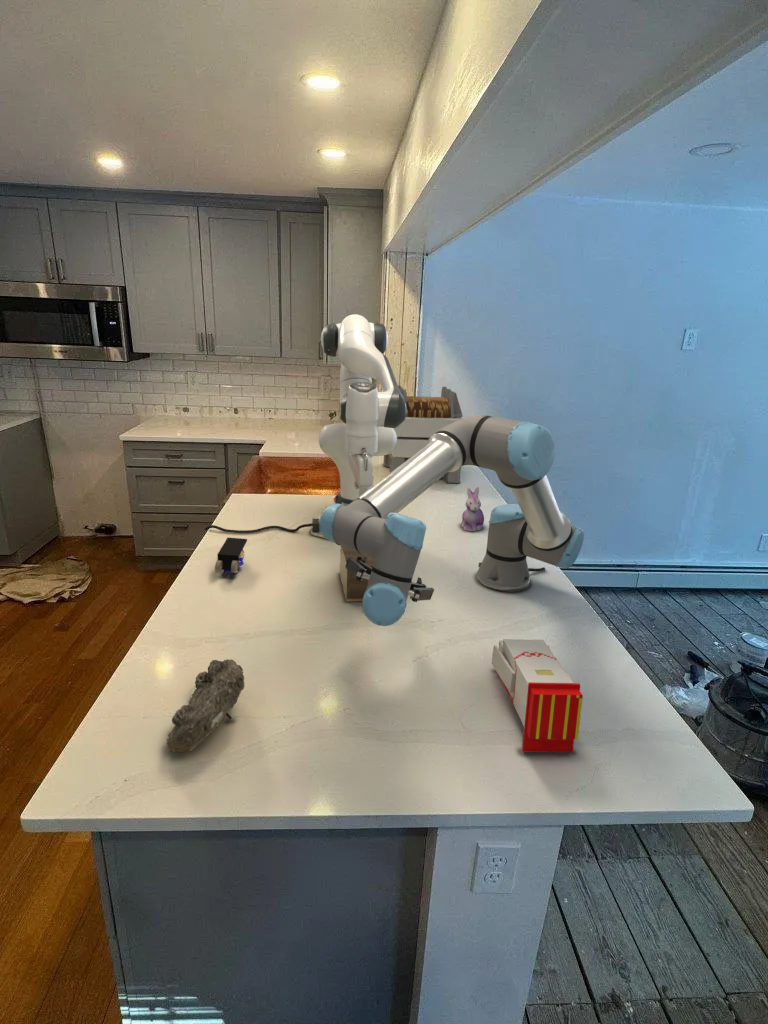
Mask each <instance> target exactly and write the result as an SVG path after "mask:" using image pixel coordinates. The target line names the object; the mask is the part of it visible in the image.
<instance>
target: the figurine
mask: <svg viewBox="0 0 768 1024" xmlns="http://www.w3.org/2000/svg"><path fill="white" fill-rule="evenodd" d="M466 491H467V493H466V494H467V499H466V501H465V507H466V509H465V510H464V511H463V513H462V516H461V517H462V518H461V519H462V520H461V527H462V528H463V530H464V531H469V532H475V531H480V530H481V529H482V528H484V523H485V515H484V512H483V510H482V509H481V507H482V502H481V499H480V497H479V494H480V488H479V487H478V486H477V487H476V488H475V489H474V490H473V491H472V490H471V488H469V487H468V488H467V489H466Z"/></svg>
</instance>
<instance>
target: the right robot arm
mask: <svg viewBox="0 0 768 1024" xmlns="http://www.w3.org/2000/svg"><path fill="white" fill-rule="evenodd" d="M554 441H555V440H554V437H553V436H552V433H551V432H550V431H549V429H548V428H547V427H545V426H543V425H540V424H535V423H534V422H531V421H522V420H515V419H509V418H504V417H503V418H502V417H496V416H491V415H487V414H475V415H470V416H466V417H462V419H460V420H458V421H455V422H453V423H451V424H449V425H447V426H445V427H444V428H442V429H441V430H439V431H438V432H436V433H435V434H433V435H432V436H431V437H430V438H429V440H428V442H427V445H426V446H425V447H424V448H422V449H421V450H420V451H419V452H417V453H416V454H415V455H413V456H412V457H411V458H409V459H408V460H407V461H405V462H404V463H403V464H401V465H400V466H399V467H398V468H396V469H395V470H394V471H392V472H391V473H390V472H389V473H388V474H387V475H386V476H384V477H383V478H381V479H380V480H379V481H378V482H377V483H375V484H373V487H371V488H370V489H369V490H367V491H366V492H365V493H363V494H362V495H361V496H360V497H358V498H357V499H356V500H354V501H353V502H352V503H350V504H349V505H348V506H346V505H344V504H335V503H333V504H329V505H328V506H327V507H326V508H325V509H324V510H323V512H321V514H322V515H321V514H320V515H321V518H320V530H321V533H322V535H323V536H324V537H325V538H324V539H326V540H328V541H329V542H332V543H334V544H335V545H337V546H340V547H341V546H344V547H346V548H349V549H351V550H354V551H356V552H359V553H361V554H363V555H365V556H368V557H370V558H373V559H374V564H373V567H370V566H369V565H367V564H365V562H366V560H367V557H365V556H364V558H363V559H362V557H359V556H358V557H357V560H355V559H353V558H352V557H349V558H348V560H347V563H346V566H345V568H346V569H347V570H349V571H350V572H351V573H352V574H353V575H354V576H355V579H357V580H358V581H361V580H363V579H364V578H365V579H367V580H368V585H367V589H366V591H365V593H364V596H363V600H362V601H361V604H362V610H363V611H362V612H363V613H364V615H365V617H366V618H367V620H368V621H370V622H371V623H372V624H374V625H377V626H380V627H388V626H392V625H394V624H396V623H398V622H399V621H400V620H401V618H402V617H403V616H404V614H405V611H406V608H407V604H408V603H407V600H408V597H409V599H410V600H411V601H412V602H413V603H418V602H419V601H431V599H432V597H433V594H434V592H435V588H433V587H428V586H427V585H426V584H425V583H423V579H422V577H420V576H418V577H417V579H416V582H412V581H413V578H414V574H415V571H416V568H417V565H418V561H419V558H420V555H421V551H422V549H423V548H424V547H423V546H424V540H425V535H426V531H427V525H426V523H425V522H424V521H423V520H420V519H418V518H415V517H412V516H408V515H405V514H402V513H400V512H401V511H403V509H405V508H406V507H408V506H409V505H410V504H411V503H413V501H415V500H416V499H418V497H420V496H421V495H422V494H423V493H424V492H425V491H427V490H428V489H429V488H431V486H433V485H434V484H435V483H437V482H438V481H439V480H440V479H441V478H443V477H444V475H445V474H446V473H447V472H453V471H456V470H458V469H459V468H460V467H461V468H462V467H464V466H474V467H477V468H482V469H486V470H490V471H493V472H495V474H496V475H497V478H498V479H499V481H500V483H501V484H502V485H503V486H505V487H506V488H509V489H511V493H512V494H513V496H514V498H515V500H516V502H517V503H506V504H501V505H497V506H495V507H493V508H492V510H491V512H490V517H489V521H488V531H487V542H486V551H485V555H484V557H483V559H482V561H481V562H478V570H477V581H478V582H479V583H480V584H482V585H483V586H484V587H487V588H489V589H491V590H495V591H498V592H499V591H500V592H505V593H506V592H507V593H508V592H510V593H512V592H513V593H515V592H521V591H523V590H526V589H527V588H528V587H529V586H530V582H531V575H530V572H532V573H533V572H535V573H536V572H537V573H538V572H544V571H546V567H540V568H535V567H533V568H531V567H530V568H529V565H528V562H527V561H528V560H527V557H528V558H531V559H534V560H536V561H540V562H543V563H546V564H548V565H552V566H555V567H556V568H561V569H570V568H571V567H572V566H573V564H575V562H576V560H577V559H578V557H579V555H580V553H581V549H582V547H583V543H584V541H585V540H584V538H585V531H584V530H583V529H582V528H580V527H579V526H574V525H572V523H571V521H570V519H569V518H568V517H567V515H565V513H563V512H561V511H560V509H559V505H558V503H557V501H556V498H555V495H554V492H553V489H552V487H551V484H550V481H549V478H548V477H547V475H548V473H549V472H550V470H551V468H552V466H553V463H554V459H555V452H554V451H555V447H556V446H555V442H554ZM361 560H362V561H361Z"/></svg>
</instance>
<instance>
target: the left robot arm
mask: <svg viewBox="0 0 768 1024" xmlns="http://www.w3.org/2000/svg"><path fill="white" fill-rule="evenodd" d="M386 328H387V327H386V326H385V325H384V323H380V322H376V321H374V322H369V321H368V319H367V318H366V317H364V315H361V314H356V313H354V314H350V315H349V314H348V315H347V316H345V318H343V319H342V321H341V322H340V323H335V322H333V323H329V324H325V326H324V327H323V329H322V331H321V333H320V345H321V348H322V350H323V353H324V354H325V355H326V356H328V357H332V358H336V357H338V358H339V361H340V364H341V365H340V369H339V379H338V380H339V383H338V384H339V406H340V407H339V408H340V413H339V420H341V422H335V423H330V424H329V423H328V424H325V425H323V427H322V428H321V429H320V432H319V435H318V445H319V447H320V449H321V451H322V452H323V453H324V454H325V455H326V456H328V457H329V458H330V459H331V460H332V462H334V464H335V466H336V467H337V470H338V474H339V483H340V484H339V485H340V488H339V489H340V490H339V491H338V492H337V494H336V495H335V496H334V497H333V502H334V504H344V505H346V506H348V505H349V504H350V503H352V502H353V501H354V500H356V499H357V498H358V497H360V496H361V495H362V494H363V493H365V492H366V491H367V490H369V489H370V488H371V487H373V486H374V473H373V471H374V470H373V467H374V466H373V459H372V458H373V457H382V456H384V455H387V454H391V453H392V452H393V450H394V449H395V447H396V444H397V436H396V432H395V430H394V429H393V428H396V427H398V426H399V425H400V424H401V423H402V422H403V421H404V420H405V417H406V403H405V400H404V397H403V396H402V394H401V392H400V390H399V388H398V385H399V384H398V383H397V379H396V377H395V374H394V371H393V367H392V366H391V363H390V361H389V358H388V357H387V355H386V354H385V352H386V351H387V348H388V345H389V333H388V331H387V329H386ZM372 379H374V380H376V381H377V382H378V383H379V385H380V388H381V391H378V387H377V385H375V384H374V383H373V380H372ZM321 515H322V513H321V514H320V515H319V517H318V518H312V522H311V523H303V524H301V525H299V526H297V527H295V528H293V529H292V528H287V527H284V526H281V525H268V526H263V527H260V528H255V529H248V530H247V529H245V530H239V529H237V530H236V529H228V528H223V527H221V526H218V525H214V524H211V525H208V526H206V527H205V528H204V531H209V529H215V530H218V531H221V532H225V533H235V534H251V533H252V534H253V533H258V532H262V531H265V530H271V529H277V530H278V529H279V530H282V531H285V532H289V533H296V532H298V531H300V530H301V529H302V528H308V527H311V530H310V533H311V536H315V537H319V538H323V539H326V538H325V537H324V536H323V535H322V533H321V530H320V518H321Z"/></svg>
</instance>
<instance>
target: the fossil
mask: <svg viewBox="0 0 768 1024" xmlns="http://www.w3.org/2000/svg"><path fill="white" fill-rule="evenodd" d="M243 670H244V669H243V667H242V665H240V664H237V662H236V661H235V660H234V659H232V658H231V659H227V658H226V659H224V660H223V661H222V660H217V659H212V660H211V661H210V663H209V665H208V666H207V671H201V672H199V673H198V674H197V675H196V676H195V680H194V684H195V685H194V687H195V689H194V690H193V693H192V694H191V697H190V698H189V700H188V704H184V705H182V706H181V707H180V709H177V710H176V711H175V713H174V715H173V716H172V718H171V723H172V724H173V727H172V730H171V731H170V732H168V734H167V738H166V741H167V742H166V745H167V749H168V750H169V751H173V752H174V753H176V754H178V753H182V752H188V751H189V752H192V751H193V750H195V748H196V747H197V746H199V744H200V743H201V742H203V741H204V740H205V739H206V738H207V737H208V736H209V735H210V734H211V733H212V732H214V730H215V729H217V727H218V726H219V724H220V722H221V721H222V720H223V719H224V718H225V716H226V717H227V719H229V720H233V717H232V715H230V714H229V710H230V709H231V708H234V706H235V704H236V703H237V702H238V699H239V697H240V695H241V693H242V691H243V690H245V689H244V688H245V675H244V671H243Z"/></svg>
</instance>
